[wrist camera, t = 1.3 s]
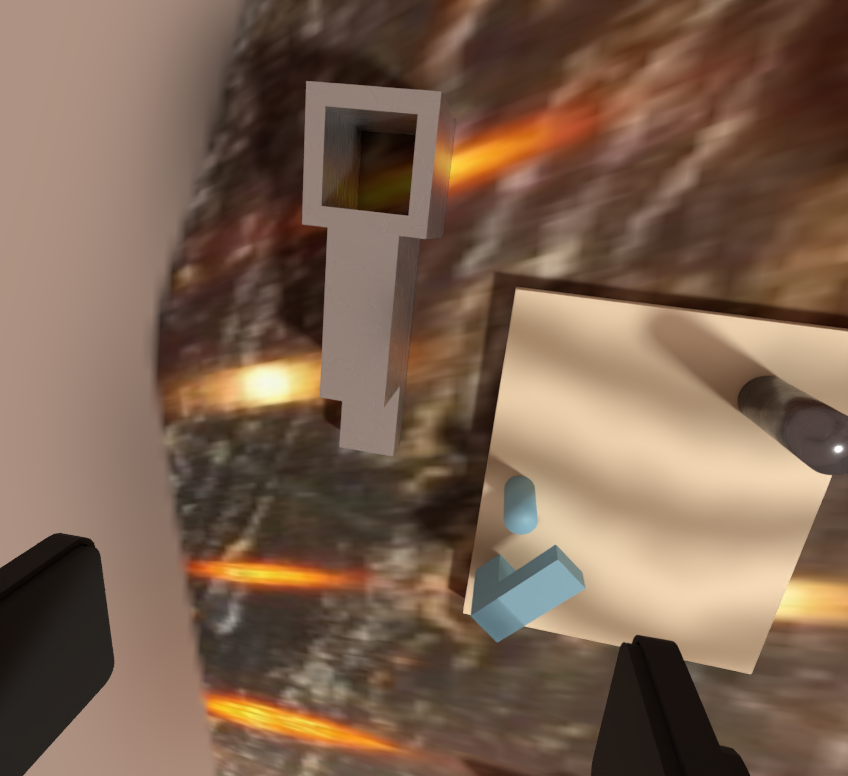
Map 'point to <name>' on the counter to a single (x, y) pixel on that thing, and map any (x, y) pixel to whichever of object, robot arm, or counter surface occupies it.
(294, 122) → the counter surface
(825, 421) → the pintle
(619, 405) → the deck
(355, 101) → the link
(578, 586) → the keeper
